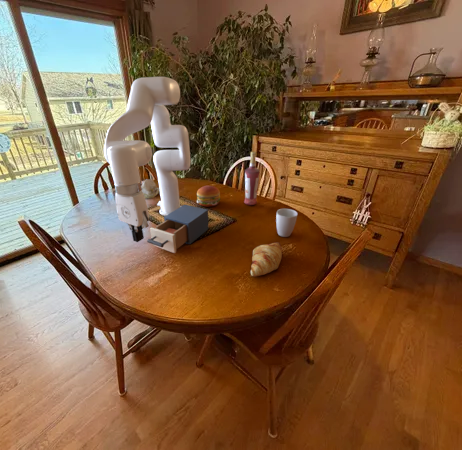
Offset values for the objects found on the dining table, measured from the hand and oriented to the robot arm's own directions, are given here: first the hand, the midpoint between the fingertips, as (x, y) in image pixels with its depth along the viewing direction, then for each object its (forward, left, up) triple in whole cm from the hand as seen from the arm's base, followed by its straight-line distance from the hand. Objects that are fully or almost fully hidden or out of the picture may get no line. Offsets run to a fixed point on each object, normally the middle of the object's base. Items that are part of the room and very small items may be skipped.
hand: (138, 239), depth 80 cm
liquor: (+12, +69, -11) cm, 71 cm away
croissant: (+37, +23, -11) cm, 45 cm away
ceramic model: (-50, +54, -11) cm, 75 cm away
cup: (+37, +46, -11) cm, 60 cm away
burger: (-9, +59, -11) cm, 61 cm away
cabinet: (0, +27, -11) cm, 29 cm away
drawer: (0, +15, -10) cm, 19 cm away
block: (0, +16, -9) cm, 18 cm away
